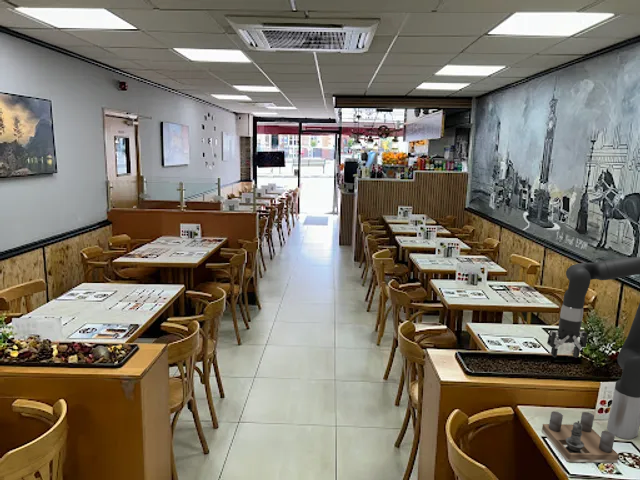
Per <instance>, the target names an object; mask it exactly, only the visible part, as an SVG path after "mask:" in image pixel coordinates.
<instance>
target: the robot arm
mask: <svg viewBox="0 0 640 480" xmlns="http://www.w3.org/2000/svg"><path fill="white" fill-rule="evenodd" d="M637 275H640V256H635V257H633V256H631V257H618V258H612V259H606V260H601V261H597V262H596V261H595V262H582V263H576V264H572V265H570V266H569V267H568V268H567V269H566V271H565V276H566V278H567V280H568V281H569V282H568V287H567V289H566V290H565V292H564V295H563V300H562V301H563V302H562V305H561V309H560V315H559V320H558V329H557V330H556V331H555V330H553V329H550V330H549V332H548V333H549V334H548V338H547V343H546V344H547V345H548V346H549V347H551V352H550V354H551V356H552V357H553V358H557V355H558V350H559V349H558V348H559V347H560V346H562V345H563V344H568V343H569V344H573V345H574V347H573V352H572V357H574V358H579V356H580V352H581V349H582V348H587V341H588V340H587V339H588V333H587V332H586V331H584V330H582V329H581V328H582V322H583V317H584V307H585V302H586V296H587V293H588V291H589V289H590V284H591V280H598V281H608V280H614V279H619V278H620V279H621V278H624V277H631V276H637ZM578 338H579V339H578ZM617 364H618V366H619V368H621V369H622V373H621V377H620V379H618V380H617V381H615V385H614V389H613V390H614V391H613V396H612V400H611V406H610V410H609V416H608V421H607V425H606V430H607V431H609V432H611V433H613V434H614V435H615V437H618V438H620V439H626V440H632V439H634V438H636V437H638V435H639V431H640V430H639V429H640V302H639V303H638V306H637V309H636V312H635V315H634V318H633V320H632V323H631V326H630V329H629V332H628V334H627V336H626V339H625V341H624V343H623V345H622V347H621V348H620V350H619V353H618V355H617Z"/></svg>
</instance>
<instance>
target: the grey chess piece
mask: <svg viewBox="0 0 640 480" xmlns="http://www.w3.org/2000/svg"><path fill="white" fill-rule="evenodd" d="M572 425H573V430H571V432H572V434H571V437H568V438H566V444H567V447H565V448H566V449H567V450H568V451H569V453H581V451H580V450H581V449H582V448H583V447H584V443H583V442H582V441H581V440H580V439H581V436H582V433H581V432H582V424H580V420H577V422H573V424H572Z"/></svg>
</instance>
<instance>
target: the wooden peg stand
mask: <svg viewBox="0 0 640 480" xmlns="http://www.w3.org/2000/svg"><path fill="white" fill-rule="evenodd" d="M563 417H564V415H563V414H562V413H561V412H558V411H555V410H554V411H551V412H550V417H549V423H543V424H542V426H541V432H542V434H544V436H545V437H546V438H547V439H548V440H549V442H550V443H551V444H552V446H553V447H554V448H555V449H556V450H557V452H559V453H561V454H560V455H561V456H562V457H563V458H564V459H565V461H566V462H567V463H615V464H616V463H618V461H619V458H620V457H619V455H620V454H618V452H617V451H616V450H614V449H613V446H614V442H615V437H616V436H615V435H614V434H613V433H611V432H609V431H608V430H602V431H601V434H600V435H599V434H598V433H597V432H596V430H594V429H593V423H594V420H595V419H594V418H595V415H594V414H592V413H590V412H589V411H588V412H587V411H582V413H581V417H580V420H579V423H580V424H582V432H581V433H582V436H581V439H580V440H581V441H582V442H583V443H584V447H583V448H582V449H581V450H580V451H581V453H569V451H568V450H567V449H566V448H565V447H567V444H566V438H568V437H571V434H572V432H571V430H573V424H569V423H568V424H567V423H566V424H563Z"/></svg>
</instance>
